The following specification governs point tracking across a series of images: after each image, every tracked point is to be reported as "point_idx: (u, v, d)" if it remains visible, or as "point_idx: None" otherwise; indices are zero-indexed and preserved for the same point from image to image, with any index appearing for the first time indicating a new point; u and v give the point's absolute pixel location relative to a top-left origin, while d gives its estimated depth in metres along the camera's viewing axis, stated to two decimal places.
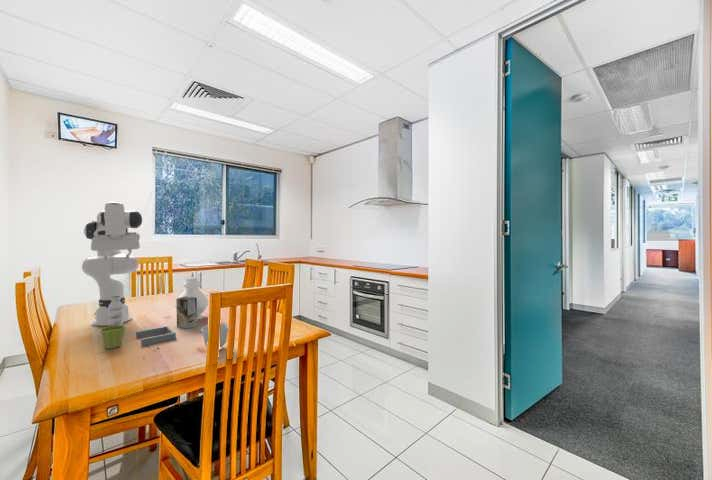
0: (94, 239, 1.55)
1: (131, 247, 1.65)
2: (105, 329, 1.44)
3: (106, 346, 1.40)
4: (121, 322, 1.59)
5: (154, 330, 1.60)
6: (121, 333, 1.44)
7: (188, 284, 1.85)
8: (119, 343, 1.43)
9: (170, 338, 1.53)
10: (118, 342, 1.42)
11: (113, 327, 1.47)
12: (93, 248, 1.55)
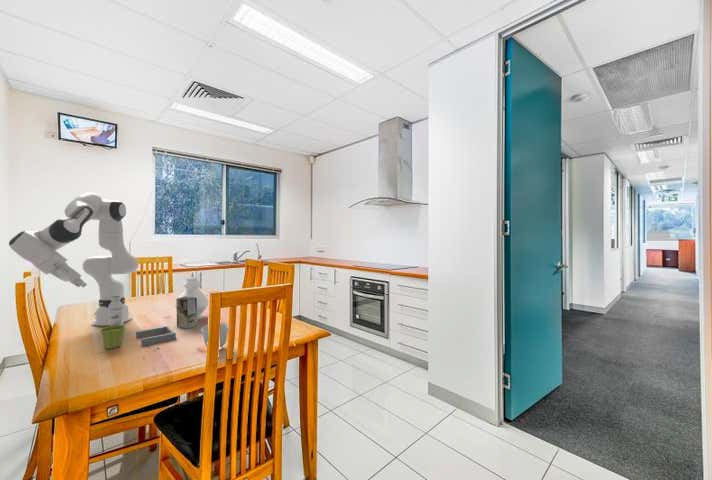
0: None
1: (70, 280, 1.30)
2: (105, 329, 1.44)
3: (106, 346, 1.40)
4: (121, 322, 1.59)
5: (154, 330, 1.60)
6: (121, 333, 1.44)
7: (188, 284, 1.85)
8: (119, 343, 1.43)
9: (170, 338, 1.53)
10: (118, 342, 1.42)
11: (113, 327, 1.47)
12: None
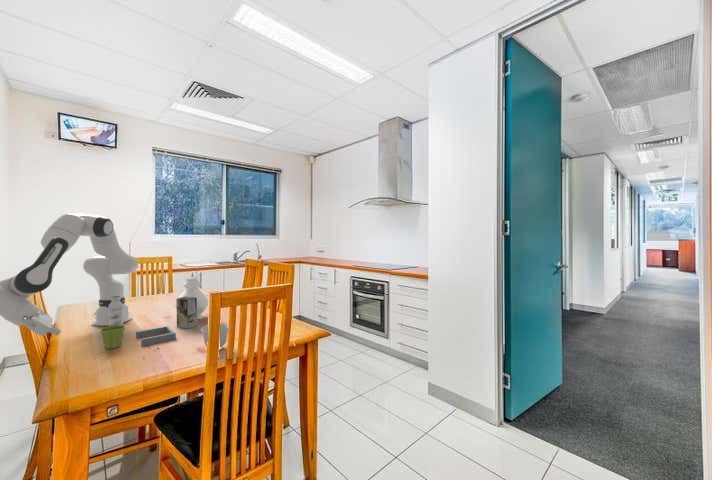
0: None
1: None
2: (105, 329, 1.44)
3: (106, 346, 1.40)
4: (121, 322, 1.59)
5: (154, 330, 1.60)
6: (121, 333, 1.44)
7: (188, 284, 1.85)
8: (119, 343, 1.43)
9: (170, 338, 1.53)
10: (118, 342, 1.42)
11: (113, 327, 1.47)
12: None
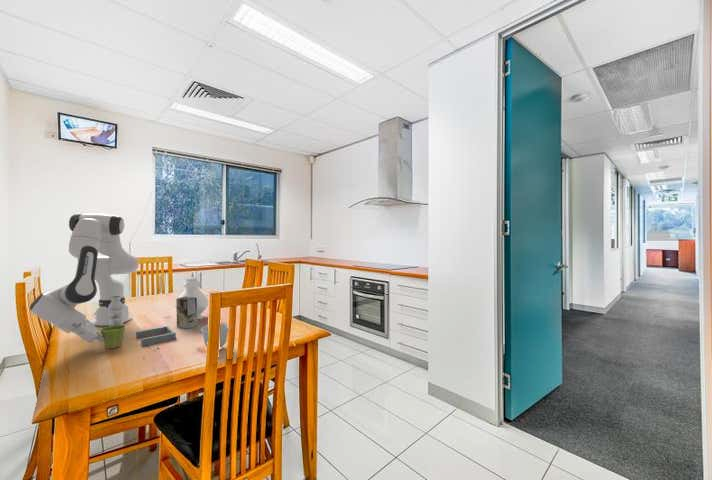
0: None
1: None
2: (105, 329, 1.44)
3: (106, 346, 1.40)
4: (121, 322, 1.59)
5: (154, 330, 1.60)
6: (121, 333, 1.44)
7: (188, 284, 1.85)
8: (119, 343, 1.43)
9: (170, 338, 1.53)
10: (118, 342, 1.42)
11: (113, 327, 1.47)
12: None
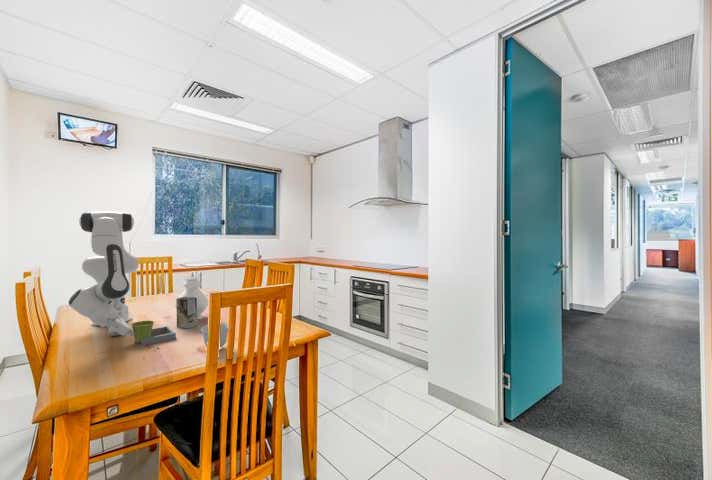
0: None
1: None
2: (136, 324, 1.52)
3: (136, 340, 1.48)
4: None
5: (154, 330, 1.60)
6: (150, 328, 1.51)
7: (188, 284, 1.85)
8: (148, 337, 1.51)
9: (170, 338, 1.53)
10: (147, 337, 1.50)
11: (143, 322, 1.54)
12: None
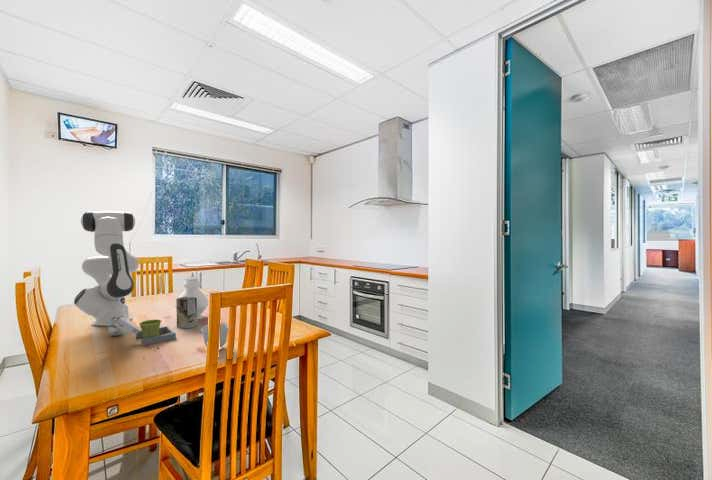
0: None
1: None
2: (143, 323, 1.54)
3: None
4: None
5: None
6: (158, 327, 1.53)
7: (188, 284, 1.85)
8: None
9: (170, 338, 1.53)
10: (155, 335, 1.52)
11: (150, 321, 1.57)
12: None
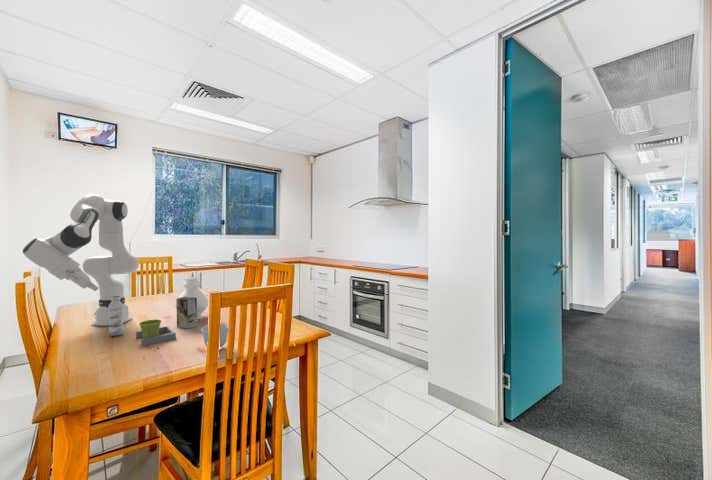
0: None
1: None
2: (143, 323, 1.54)
3: None
4: (121, 322, 1.59)
5: None
6: (158, 327, 1.53)
7: (188, 284, 1.85)
8: None
9: (170, 338, 1.53)
10: (155, 335, 1.52)
11: (150, 321, 1.57)
12: None
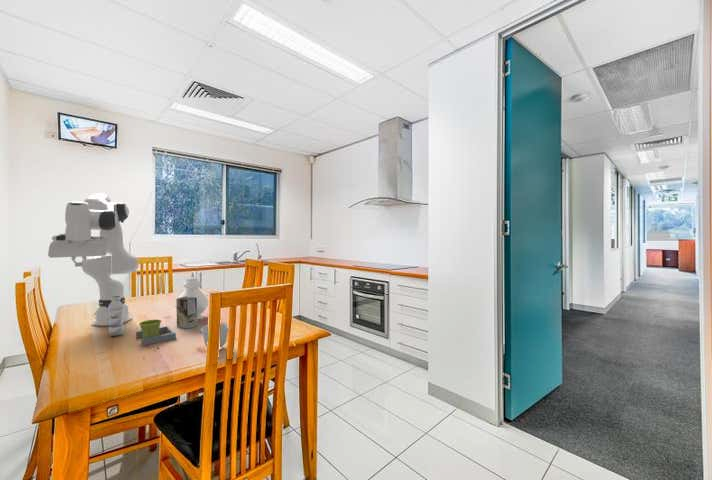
0: (52, 245, 1.36)
1: (96, 254, 1.46)
2: (143, 323, 1.54)
3: None
4: (121, 322, 1.59)
5: None
6: (158, 327, 1.53)
7: (188, 284, 1.85)
8: None
9: (170, 338, 1.53)
10: (155, 335, 1.52)
11: (150, 321, 1.57)
12: (50, 255, 1.36)
